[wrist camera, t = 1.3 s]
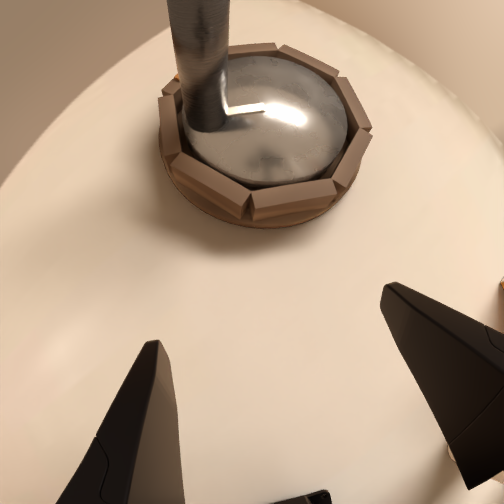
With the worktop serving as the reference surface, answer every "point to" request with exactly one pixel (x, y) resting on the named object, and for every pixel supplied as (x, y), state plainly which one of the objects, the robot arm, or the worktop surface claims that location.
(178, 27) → the dial
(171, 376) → the robot arm
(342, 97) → the dial housing
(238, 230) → the worktop surface
